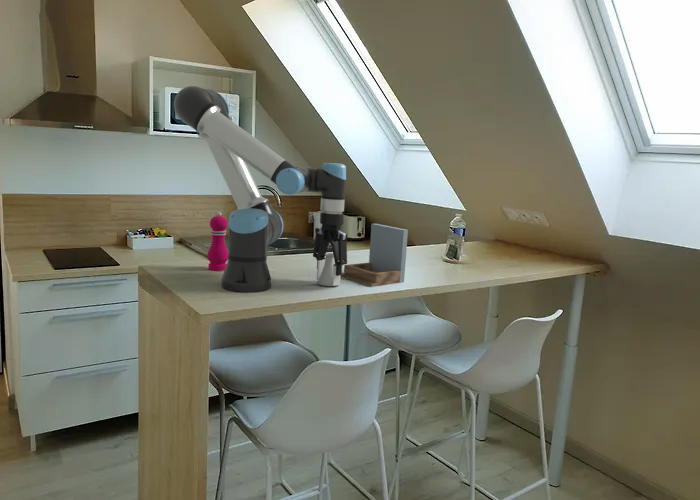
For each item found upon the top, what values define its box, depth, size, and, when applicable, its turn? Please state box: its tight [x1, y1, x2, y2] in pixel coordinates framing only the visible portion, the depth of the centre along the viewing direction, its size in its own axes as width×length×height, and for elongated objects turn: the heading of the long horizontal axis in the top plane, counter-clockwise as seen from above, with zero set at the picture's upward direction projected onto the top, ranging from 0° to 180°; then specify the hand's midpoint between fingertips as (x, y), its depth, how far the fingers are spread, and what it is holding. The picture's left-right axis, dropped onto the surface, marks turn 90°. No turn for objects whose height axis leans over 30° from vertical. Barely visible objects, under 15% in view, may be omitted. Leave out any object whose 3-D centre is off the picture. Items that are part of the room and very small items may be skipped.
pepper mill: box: [206, 211, 229, 272], centre depth 199 cm, size 7×7×20 cm
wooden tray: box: [340, 262, 401, 288], centre depth 199 cm, size 13×16×4 cm
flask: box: [316, 252, 337, 287], centre depth 188 cm, size 7×7×10 cm
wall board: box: [368, 223, 409, 284], centre depth 203 cm, size 2×16×18 cm, turn 41°
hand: (328, 282), depth 188 cm, fingers closed on flask, 7 cm apart
